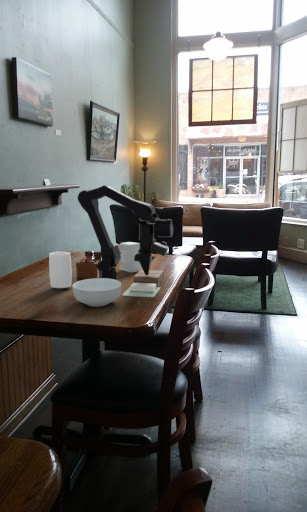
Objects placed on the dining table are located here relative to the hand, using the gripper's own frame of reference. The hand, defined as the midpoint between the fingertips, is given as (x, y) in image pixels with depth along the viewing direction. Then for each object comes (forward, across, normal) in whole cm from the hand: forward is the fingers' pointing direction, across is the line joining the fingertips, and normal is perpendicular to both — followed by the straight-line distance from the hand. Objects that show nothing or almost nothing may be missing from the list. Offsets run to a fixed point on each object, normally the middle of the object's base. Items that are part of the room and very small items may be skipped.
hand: (146, 275), depth 170 cm
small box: (+5, +28, +13) cm, 31 cm away
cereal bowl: (+5, -26, +12) cm, 30 cm away
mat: (+4, -9, 0) cm, 10 cm away
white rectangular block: (+2, -8, 0) cm, 8 cm away
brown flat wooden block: (+4, +5, 0) cm, 7 cm away
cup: (+5, -10, +32) cm, 34 cm away
